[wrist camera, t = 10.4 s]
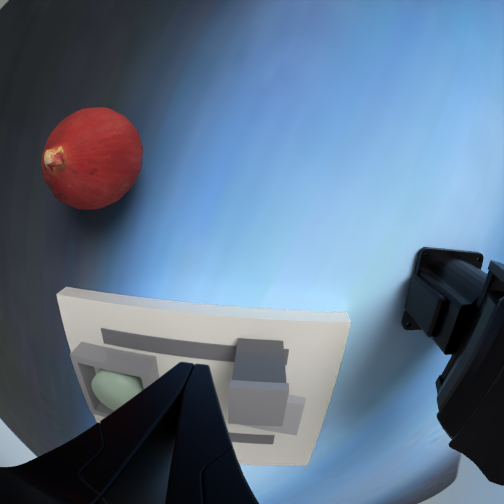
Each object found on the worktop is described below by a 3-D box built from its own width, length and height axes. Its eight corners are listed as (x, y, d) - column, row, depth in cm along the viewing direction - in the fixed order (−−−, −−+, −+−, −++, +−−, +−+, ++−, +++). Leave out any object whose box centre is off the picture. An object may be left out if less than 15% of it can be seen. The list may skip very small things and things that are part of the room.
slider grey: (284, 339, 19) (289, 390, 15) (279, 375, 20) (282, 426, 16) (236, 336, 19) (228, 386, 15) (235, 372, 20) (228, 423, 16)
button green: (141, 368, 21) (135, 381, 19) (150, 406, 22) (144, 419, 20) (94, 358, 21) (85, 369, 19) (105, 395, 22) (98, 407, 20)
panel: (346, 311, 20) (358, 338, 17) (306, 454, 26) (308, 480, 22) (66, 286, 21) (42, 304, 18) (108, 429, 26) (97, 450, 23)
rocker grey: (305, 397, 19) (304, 405, 18) (298, 428, 20) (296, 435, 19) (236, 384, 20) (233, 391, 19) (235, 415, 21) (232, 422, 20)
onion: (117, 216, 19) (45, 250, 11) (74, 157, 18) (-6, 164, 10) (177, 159, 18) (120, 161, 10) (128, 98, 17) (56, 72, 9)
